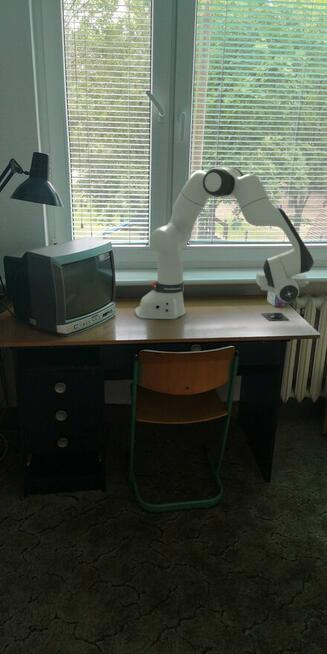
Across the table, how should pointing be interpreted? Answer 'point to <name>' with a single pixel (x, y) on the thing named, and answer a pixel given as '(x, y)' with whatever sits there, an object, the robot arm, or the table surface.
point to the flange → (274, 316)
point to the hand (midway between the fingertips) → (278, 275)
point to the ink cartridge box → (274, 300)
